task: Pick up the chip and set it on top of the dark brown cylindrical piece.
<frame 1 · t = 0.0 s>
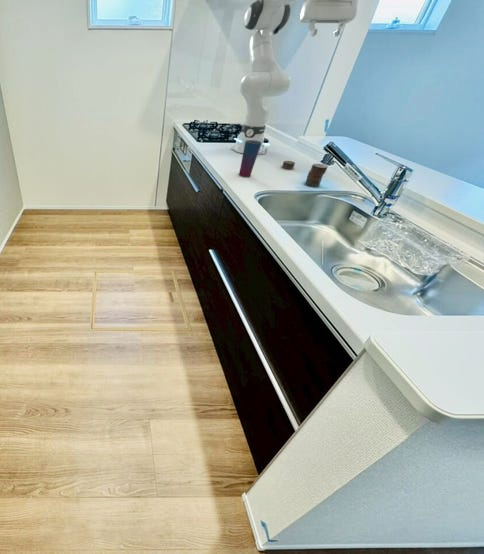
hand: (324, 35, 115), 52 cm above the worktop, tool tilted 20°, fingers open, 8 cm apart
cup: (244, 175, 141), on the worktop
dark brown cylindrical piece: (311, 184, 131), on the worktop
chip: (287, 167, 151), on the worktop
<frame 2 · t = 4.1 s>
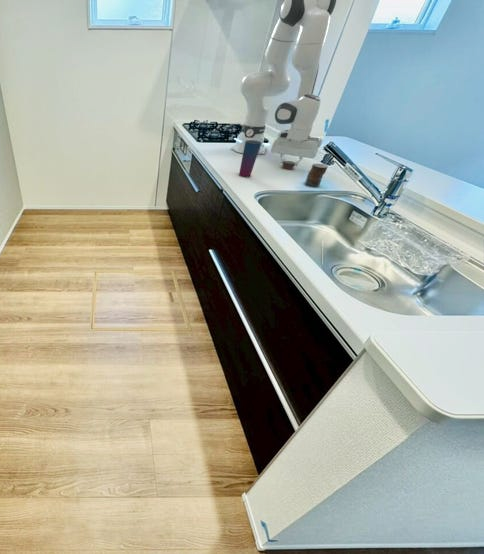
hand: (288, 164, 150), 2 cm above the worktop, tool pointing down, fingers closed on chip, 5 cm apart
chip: (287, 167, 151), on the worktop, touching gripper
everything else where it was.
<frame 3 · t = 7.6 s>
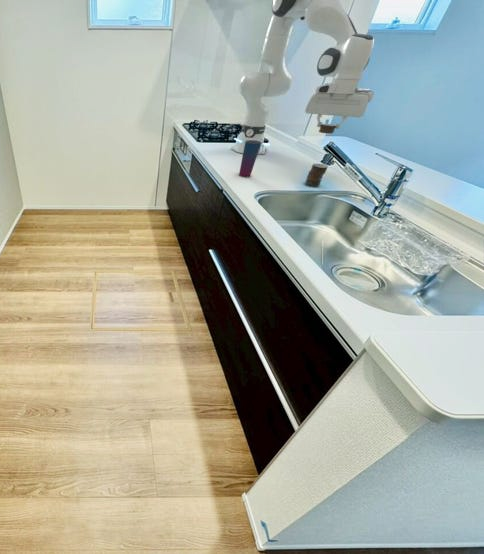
hand: (327, 127, 122), 22 cm above the worktop, tool pointing down, fingers closed on chip, 5 cm apart
chip: (325, 132, 123), point 20 cm above the worktop, touching gripper
everything else where it was.
when the fingers open (10 cm above the worktop, at t = 11.0 s): chip stays where it is, resting on dark brown cylindrical piece.
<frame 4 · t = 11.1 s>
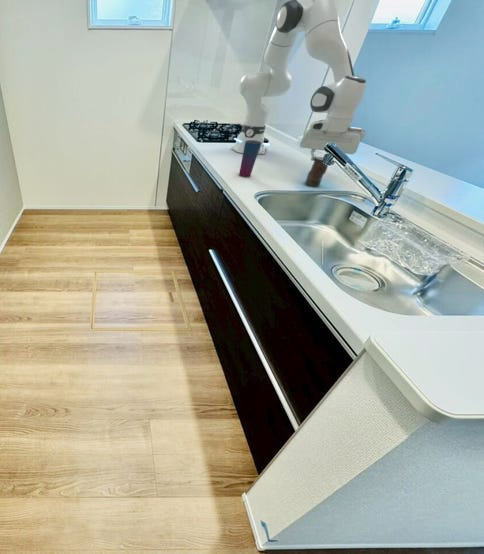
hand: (321, 161, 125), 10 cm above the worktop, tool pointing down, fingers open, 5 cm apart
chip: (319, 165, 126), point 8 cm above the worktop, touching dark brown cylindrical piece
everything else where it was.
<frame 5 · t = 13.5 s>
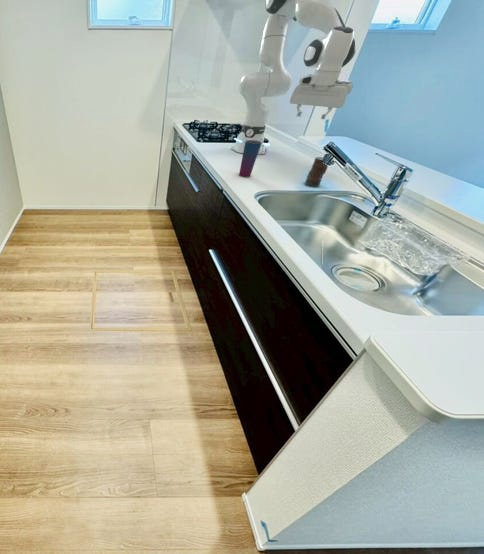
hand: (310, 117, 128), 24 cm above the worktop, tool pointing down, fingers open, 8 cm apart
nothing on the worktop moved.
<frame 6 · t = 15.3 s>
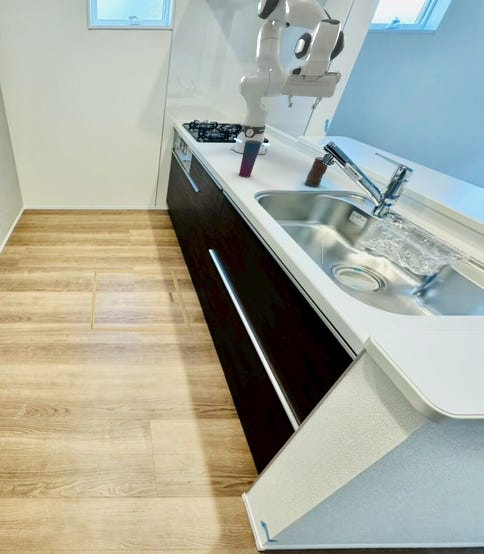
hand: (301, 108, 131), 27 cm above the worktop, tool pointing down, fingers open, 8 cm apart
nothing on the worktop moved.
at the end: chip 0.0 cm off-centre on the dark brown cylindrical piece, point 8.4 cm above the dark brown cylindrical piece's base; chip tilted 0° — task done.
